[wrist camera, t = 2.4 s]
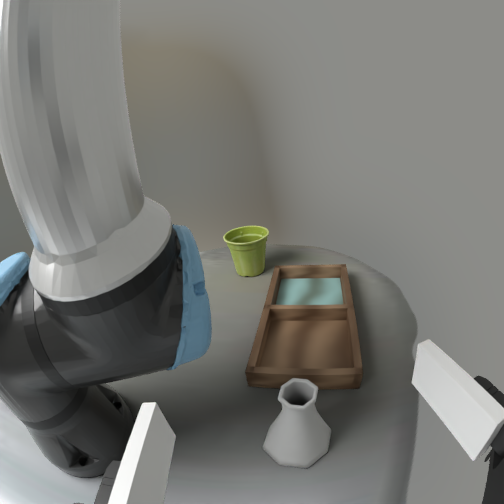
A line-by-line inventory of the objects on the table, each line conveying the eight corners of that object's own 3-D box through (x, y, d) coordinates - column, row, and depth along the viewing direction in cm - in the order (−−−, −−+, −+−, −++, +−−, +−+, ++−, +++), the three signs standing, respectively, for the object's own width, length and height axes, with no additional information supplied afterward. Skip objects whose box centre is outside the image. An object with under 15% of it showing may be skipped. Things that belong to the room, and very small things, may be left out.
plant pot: (281, 270, 59) (278, 232, 55) (244, 287, 54) (238, 247, 51) (256, 257, 66) (252, 222, 62) (222, 270, 62) (215, 235, 58)
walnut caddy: (248, 386, 32) (245, 371, 31) (276, 278, 56) (275, 265, 54) (359, 388, 29) (363, 373, 27) (345, 277, 52) (345, 264, 51)
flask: (341, 427, 24) (355, 374, 20) (310, 479, 19) (317, 444, 15) (286, 406, 28) (283, 351, 24) (250, 451, 23) (235, 405, 19)
